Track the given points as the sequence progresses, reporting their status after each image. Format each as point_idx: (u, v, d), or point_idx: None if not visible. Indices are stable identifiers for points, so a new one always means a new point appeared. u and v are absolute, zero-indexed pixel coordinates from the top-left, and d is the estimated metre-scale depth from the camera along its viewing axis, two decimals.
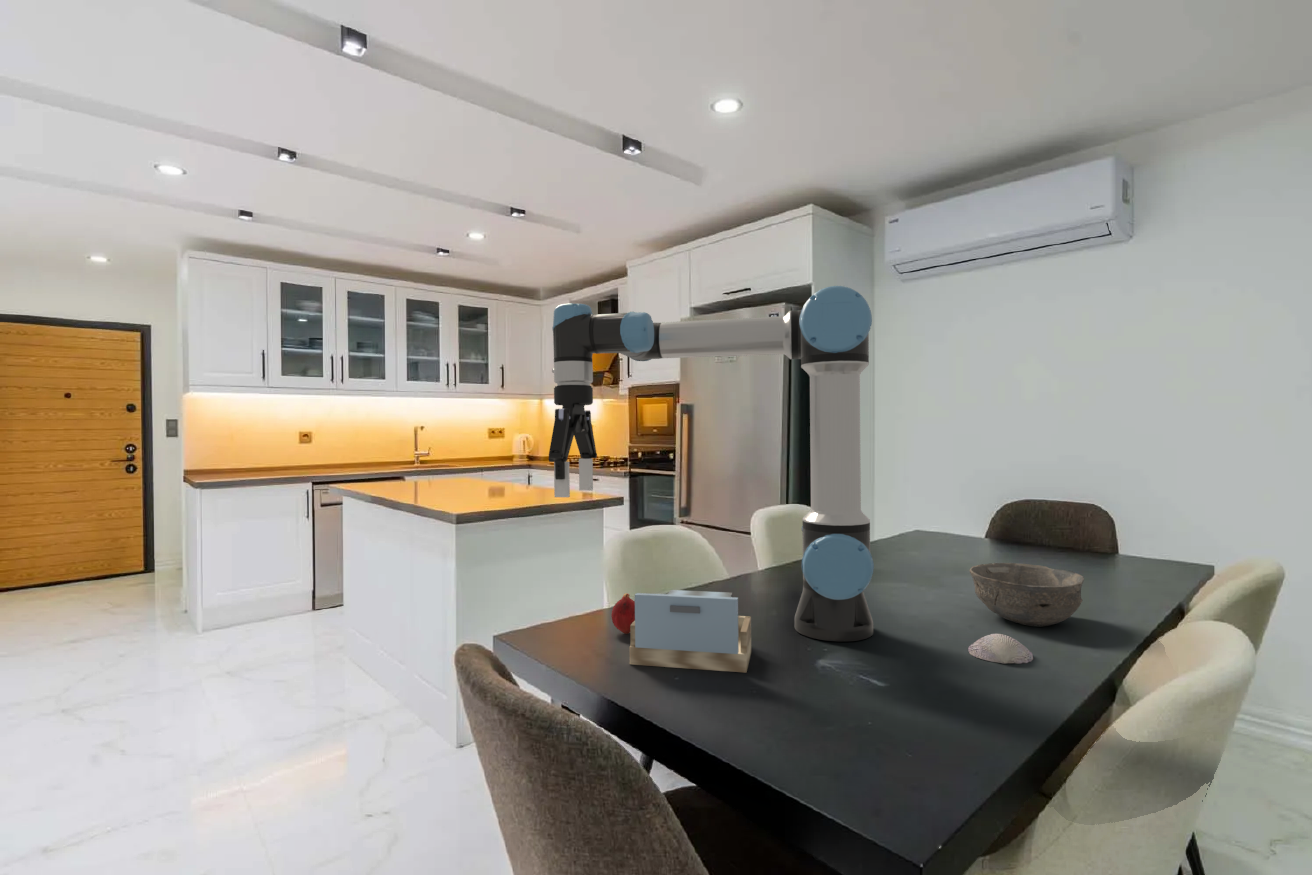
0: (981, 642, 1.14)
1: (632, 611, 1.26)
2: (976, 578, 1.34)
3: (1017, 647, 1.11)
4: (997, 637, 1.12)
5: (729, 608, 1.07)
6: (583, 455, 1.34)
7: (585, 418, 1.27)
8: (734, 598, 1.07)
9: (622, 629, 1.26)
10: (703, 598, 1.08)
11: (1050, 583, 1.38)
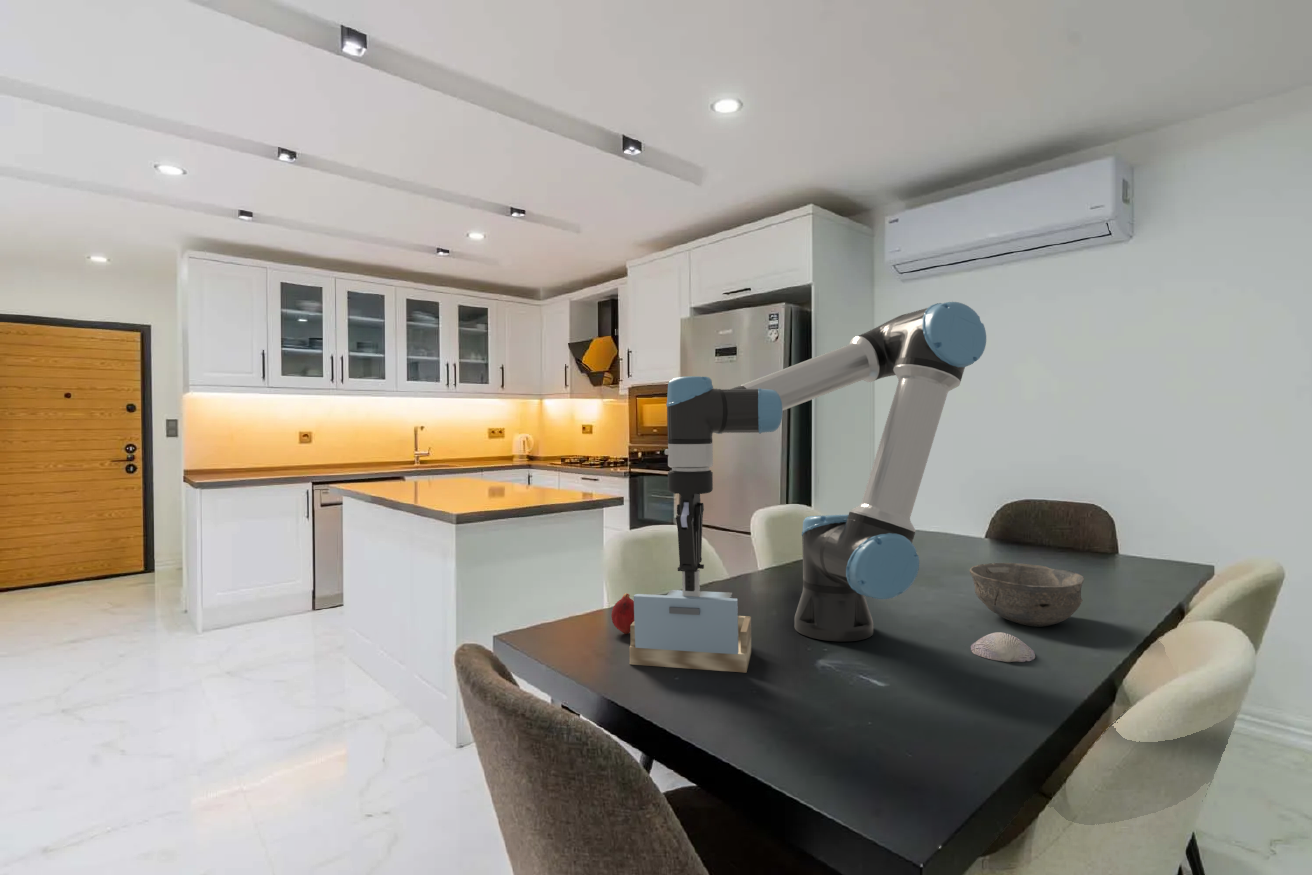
0: (983, 641, 1.15)
1: (632, 611, 1.26)
2: (976, 578, 1.34)
3: (1019, 645, 1.11)
4: (999, 636, 1.13)
5: (729, 609, 1.06)
6: None
7: (703, 507, 1.10)
8: (734, 599, 1.06)
9: (622, 629, 1.26)
10: (702, 600, 1.07)
11: (1050, 583, 1.38)
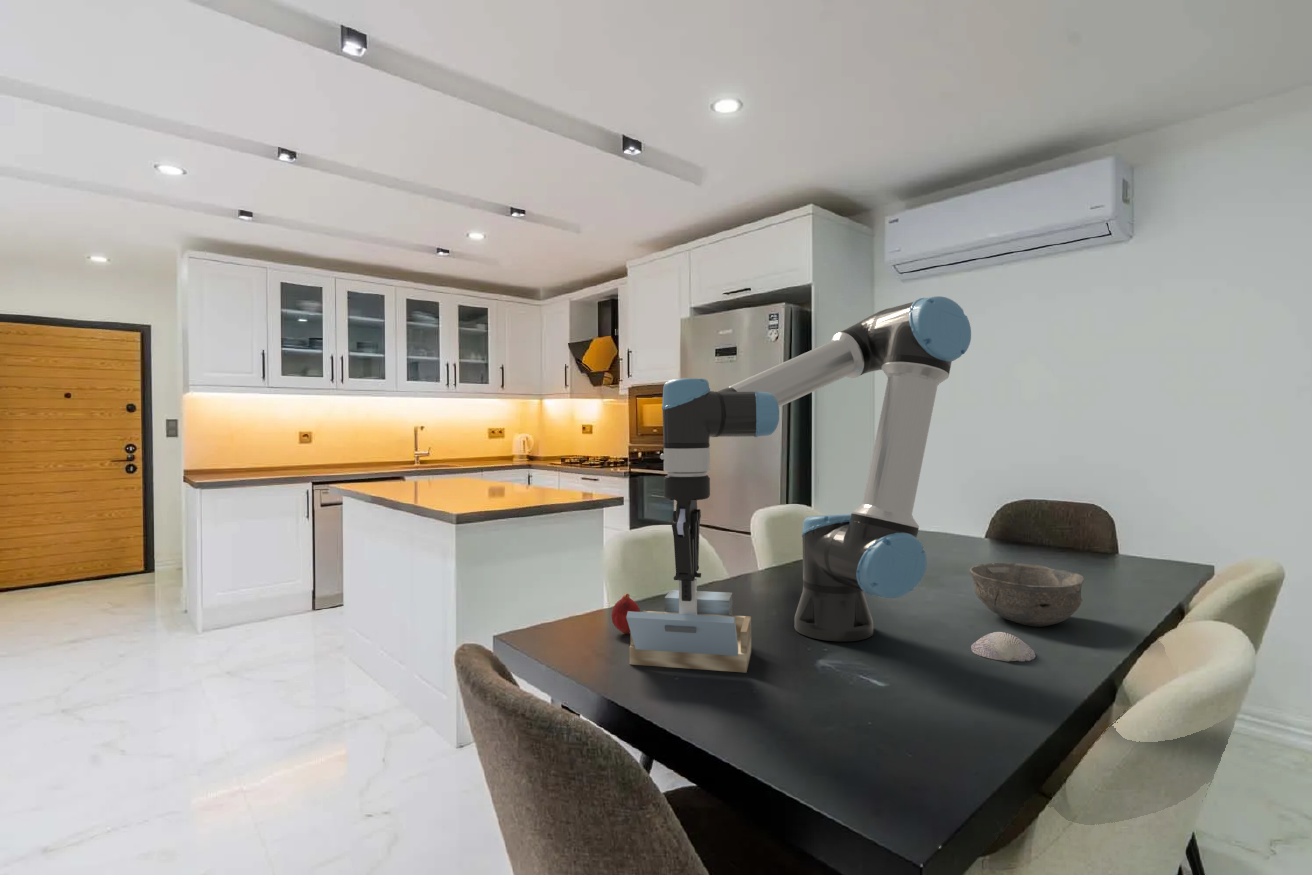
0: (984, 640, 1.15)
1: None
2: (976, 578, 1.34)
3: (1020, 645, 1.12)
4: (1000, 635, 1.13)
5: (726, 628, 1.02)
6: None
7: (700, 513, 1.06)
8: (730, 620, 1.02)
9: (622, 629, 1.26)
10: (698, 621, 1.02)
11: (1050, 583, 1.38)
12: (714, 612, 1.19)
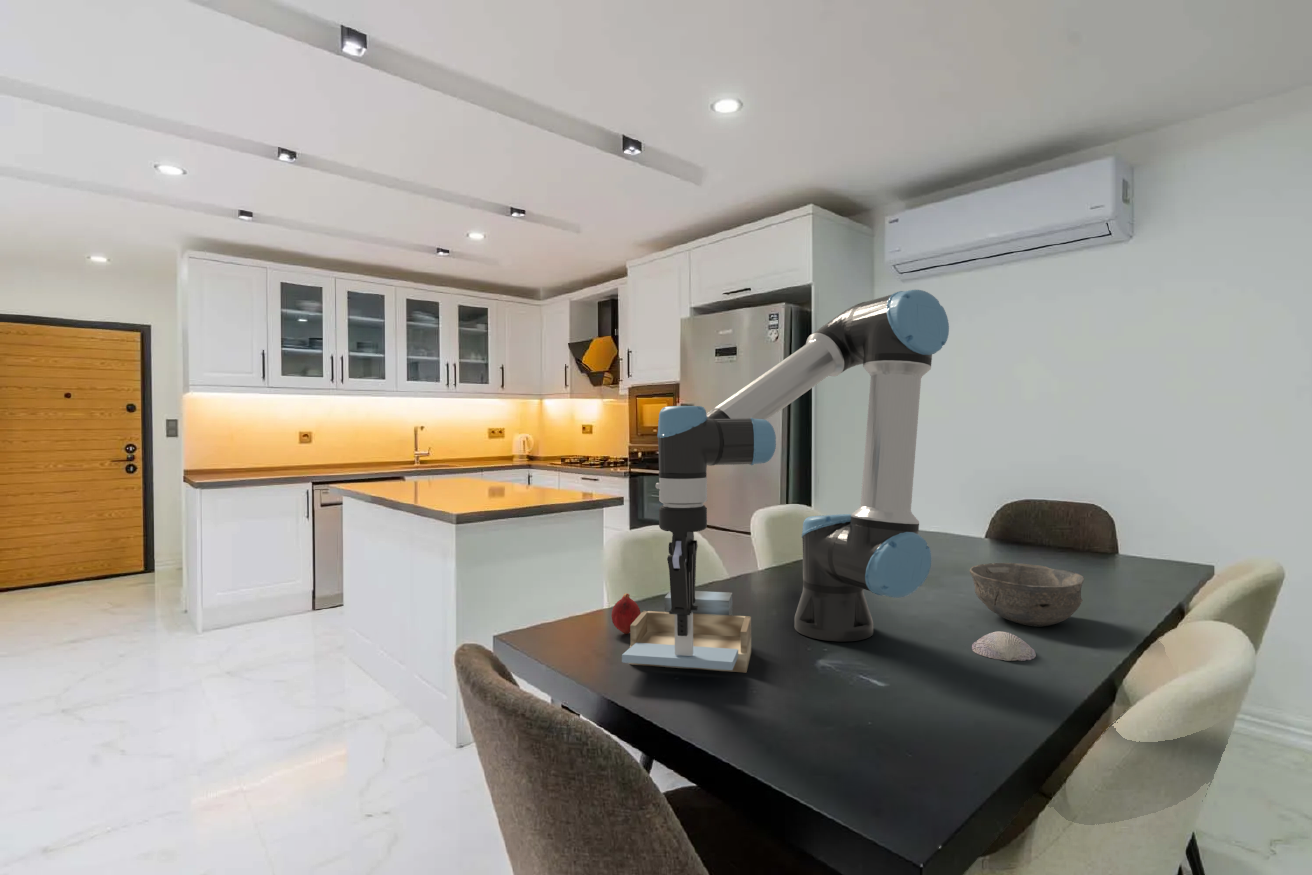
0: (984, 640, 1.15)
1: (632, 611, 1.26)
2: (976, 578, 1.34)
3: (1020, 644, 1.12)
4: (1000, 635, 1.14)
5: None
6: None
7: (696, 545, 1.03)
8: (728, 666, 0.98)
9: (622, 629, 1.26)
10: (695, 666, 1.00)
11: (1050, 583, 1.38)
12: (714, 612, 1.19)
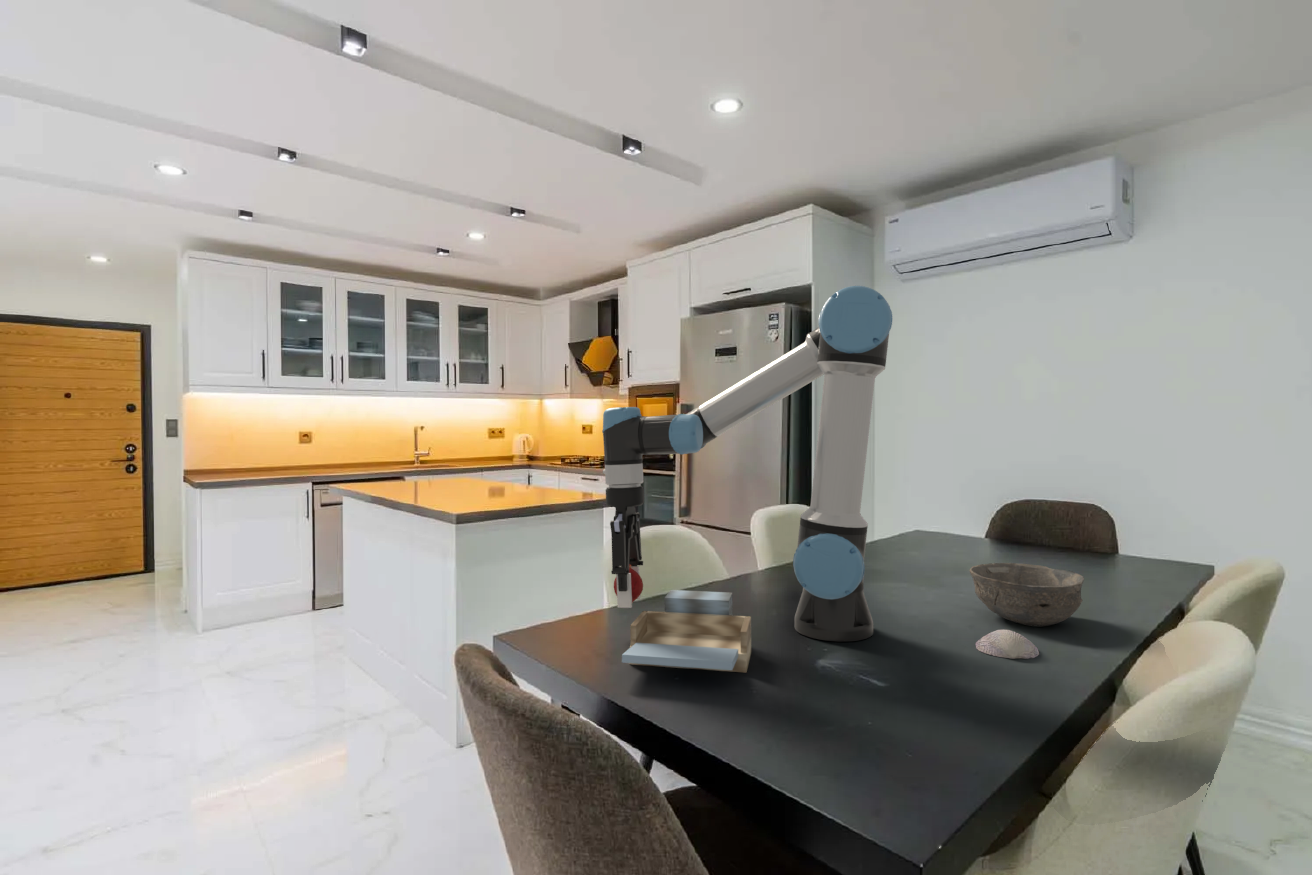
0: (989, 638, 1.16)
1: (634, 581, 1.26)
2: (976, 578, 1.34)
3: (1024, 642, 1.13)
4: (1004, 633, 1.15)
5: None
6: (629, 563, 1.31)
7: (636, 518, 1.29)
8: (728, 666, 0.98)
9: None
10: (695, 666, 1.00)
11: (1050, 583, 1.38)
12: (714, 612, 1.19)
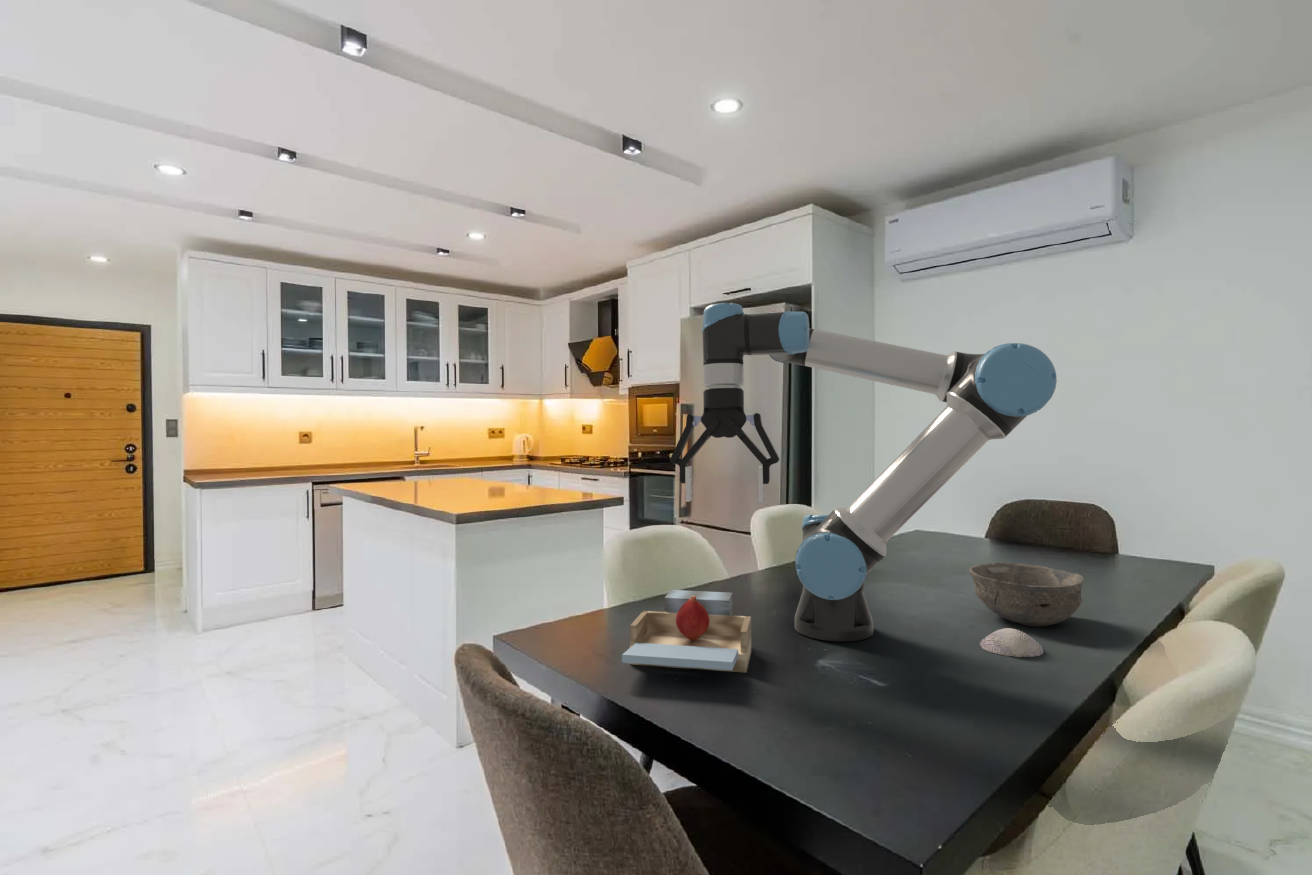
0: (994, 637, 1.17)
1: (680, 615, 1.13)
2: (976, 578, 1.34)
3: (1029, 641, 1.14)
4: (1009, 631, 1.15)
5: None
6: None
7: (729, 422, 1.19)
8: (728, 666, 0.98)
9: None
10: (695, 666, 1.00)
11: (1050, 583, 1.38)
12: (714, 612, 1.19)
